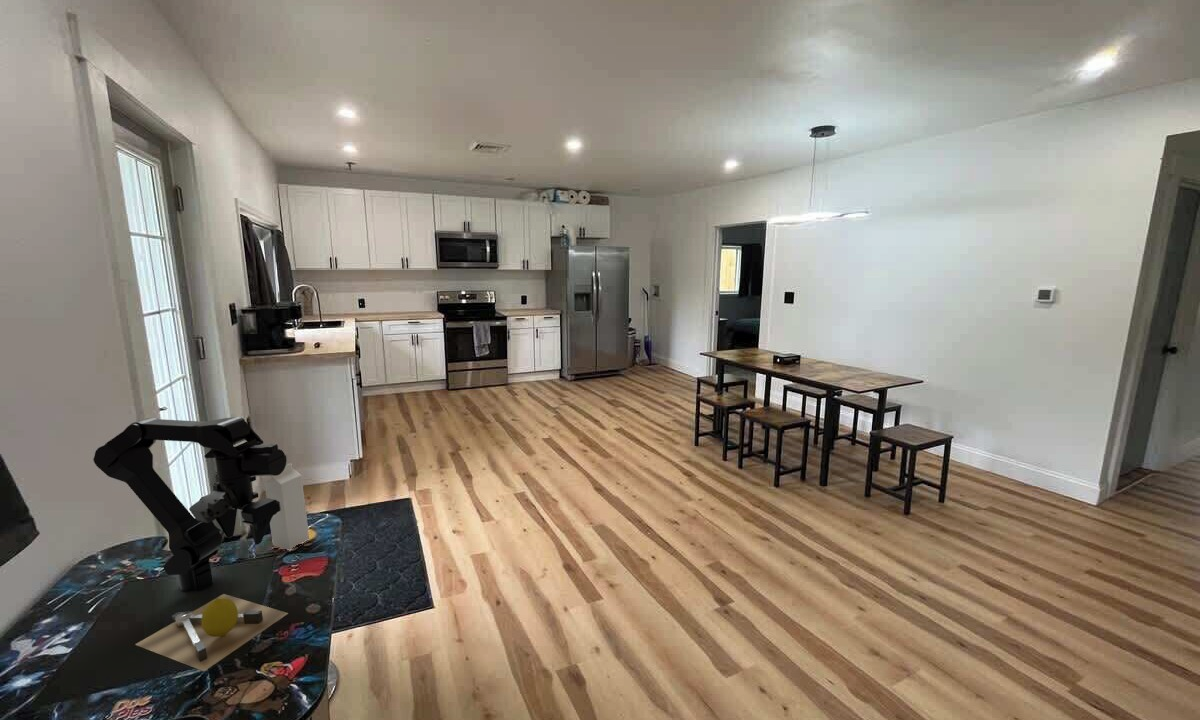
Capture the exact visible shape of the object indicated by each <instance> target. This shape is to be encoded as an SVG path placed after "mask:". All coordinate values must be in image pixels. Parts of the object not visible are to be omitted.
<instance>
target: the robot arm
mask: <svg viewBox="0 0 1200 720" xmlns="http://www.w3.org/2000/svg"><path fill="white" fill-rule="evenodd" d="M156 441H165V442H166V441H168V442H169V441H170V442H188V443H189V442H191V443H196V444H198V445H200V446H201V447H202V448H206V449H210V450H209V451H208V452H207V453H206V454H204V458H205V459H215V460H214V461H215V466H216V473H217V482H214V483H213V485H212V491H211V492H210V493H208V494H206V495H204V496H202V497H200V499H199V500H198V501H196V502H195V503H194V504H192V505H191V506H190V507H189V510H188V508H186V506H185V505H184V504H183V503H182V501H180V499H179V498H178V496H176V494H175V493H174V492H173V491H172V490H171V489H170V487H169V486H168V485H167V483H165V481H164V480H163V479H162V477H161V476H160V475H159V474H158V473H157V471H156V470H155V469H154V455H153V453H152V451H151V447H152V446H154V444H155V443H156ZM244 441H245V442H244ZM239 443H241V444H239ZM235 445H236V446H235ZM278 445H279V444H277V443H274V444H272V443H270V444H264V441H263V439H261V437H260V436H259V435H258V434H257V432H255V430H254V429H253V428H252V427H250V425H249V424H248V422H247V421H246V420H245V419H244V418H243V417H240V416H232V417H224V418H219V419H214V420H207V421H200V420H199V421H198V420H196V421H195V420H183V419H181V420H179V419H163V418H161V419H160V418H155V417H147V418H145V419H141V420H137V421H134V422H132V423H130V424H129V425H128V426H127V427H126V428H125V429H124V430H123V431H121V432H120V433H118V434H117V435H116V436H115V437H113V438H111V439H110V440H108V441H107V442H105V444H104V445H102V446H99V447H98V448H97V449H95V452H94V456H93V463H94V464H95V466H96V467H97V468H98V469H99V470H101V472H103V473H104V474H105V475H106V476H107V477H109V478H112V479H115V480H117V481H120V482H124V483H125V484H127V485H128V487H129V488H130V490H132V491H133V493H134V495H136V497H137V498H138V499H139V501H141V502H142V504H143V505H144V506H145V508H146V509H147V510H148V511H149V512H151V514H152V515H153V517H154V518H155V519H156V520H157V521H158V523H160V525H161V526H162V528H164V530H165V531H166V532H167V533H168V548H169V550H170V552H171V554H172V556H171V557H170V558H169V560H167V561H166V563H164V564H163V569H164V571H165V573H166V575H169V576H171V575H172V576H174V575H176V576H177V577H178V583H179V588H180V591H181V592H184V593H188V592H189V593H190V592H193V591H194V592H195V591H197V592H198V591H199V592H200V591H203V590H205V589H207V588H208V587H210V586H212V585H214V578H213V577H214V576H213V571H212V568H211V567H212V566H211V562H210V559H211V558H213V557H214V556H216V555H218V554H219V551H220V548H221V546H222V542H223V539H224V538H223V536H222V533H221V530H222V531H223V533H224V534H225V536H226V538H228V539H230V538H231V537H234V534H235V530H236V529H235V528H236V523H237V522H236V520H237V513H238V510H239V511H240V510H241V511H240V514H241V518H242V519H243V520H242V521H241V522H242V523H244V524H246V525H248V526H249V528H250V532H251V536H252V538H253V542H254V545H259V544H261V543H262V542H263V539H264V536H265V533H266V532H267V530H268V527H269V526H270V521H271V519H272V517H273V515H275V514H277V512H279V511H280V510H281V507H280V502H279V501H277V500H274V499H269V498H266V497H263V498H261V499H258V500H256V501H254V500H255V499H257V498H259V492H256V491H254V489H253V482H254V481H257V477H258V476H259V477H260V476H261V477H262V476H263V477H264V476H265V477H266V476H268V477H269V476H270V477H271V476H277V475H280V474H281V473H282V472H283V470H284V469H285V466H286V465H287V455H286V454H285V452H284V451H283V449H280V448H279V446H278ZM213 521H216V522H217V523H218V525H219V527H220V528H218V527H217V526H216V525H215V523H214V522H213Z"/></svg>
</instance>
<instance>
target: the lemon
mask: <svg viewBox="0 0 1200 720" xmlns="http://www.w3.org/2000/svg"><path fill="white" fill-rule="evenodd" d="M216 598H217V597H216ZM216 598H214V599H215V600H214V599H213V600H214V601H212V600H211V601H212V602H211V603H210V604H209V605H208V606H207V607H206V608H205V610H204V611H203V614H202V628H203V630H204V632H205V633H206V634H207V635H209V636H212V637H219V636H220V637H223V636H225V635H226V634H227V633H228V632H229V631H231V630H232V629H233V627H234V626H235V624H236V622H237V619H238V611H237V607H236V605H235V603H234V602H233V601H232V600H230V599H227V598H220V599H219V598H217V599H216Z"/></svg>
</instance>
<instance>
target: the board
mask: <svg viewBox="0 0 1200 720" xmlns="http://www.w3.org/2000/svg"><path fill="white" fill-rule="evenodd" d="M217 598H219V599H220V598H227V599H230V600H232V601H233V602H234V603H235V605H236V607H237V611H238V614H244V613H245V612H246V611H251V610H262V616H263V621H262V622H261V623H260V624H235V626H234V627H233V629H232V630H231V631H229V632H228V633H227V634H226V635H225V636H223V637H220V636H219V637H212V636H209V635H207V634H206V633H205V632H204V630H203V628H202V625H192V626H193V628H194V630H195V632H196V634H197V635H198V637H199V639H200V641H201V640H202V642H203V644H204V646H205V648H206V653H207V659H205V660H203V661H201V662H200V661H199V659H198V657H197V655H196V653H195V651H194V648H193V646H192V644H191V642H190V640H189V638H188V636H187V634H186V632H185V630H184V628H183V627H182V628H178V627H177V626H176V620H174V621H173V622H172V623H170V624H169V625H166V626H165V627H163V628H162V629H161V628H160V630H158V631H156V632H155V633H153V634H151V635H149V636H148V637H146V638H144V639H142V640H140V641H139V642H137V643H135V644H134V645H135V646H137V647H140V648H142V649H144V650H147V651H151V652H152V653H156V654H158V655H161V656H163V657H165V658H169V659H170V660H173V661H176V662H178V663H181V664H184V665H186V666H189V667H192V668H194V669H196V670H199V671H202V672H205V671H207V670H208V669H210V668H211V667H213V666H214V665H215V664H217V663H219V662H220V661H222V660H224V658H226V657H227V656H229V655H230V654H231V653H233V652H234V651H236V650H237V649H239V648H241V647H242V646H243V645H245V644H246V643H248V642H249V641H251V640H252V639H254V638H255V637H256V636H257V635H259V634H260V633H262V632H264V631H265V630H267V629H268V628H269V627H272V625H274V624H275V623H277V622H278V621H280V620H281V619H283V618H284V617H285V616H287V615H289V613H288V612H285V611H282V610H279V609H276V608H272V607H269V606H266V605H262V604H259V603H256V602H253V601H249V600H245V599H242V598H238V597H235V596H232V595H229V594H226V593H223V594H221V595H219V596H217V597H216V598H214V599H212V600H211V601H209V602H207V603H205V604H204V605H201V606H200V607H198V608H197V609H195V610H193V611H191V612H192V615H202V614H203V611H204V610H205V608H206V607H207V606H208V605H209V604H210V603H211V602H212V601H214V600H215V599H217Z"/></svg>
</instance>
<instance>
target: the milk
mask: <svg viewBox="0 0 1200 720" xmlns="http://www.w3.org/2000/svg"><path fill="white" fill-rule="evenodd" d="M302 477H303V476H302V474H301V473H299V472H298V471H297V470H296V469H295V468H293V463H291V462H290V463H288V464H287V463H286V466H285V469H284V470H283V472H282V473H281V474H280V475H277V476H270V477H269V478H267V479H266V480H264V489H265V498H269V499H274V500H277V501H279V502H280V507H281V510H280V511H279V512H277V514H275V515H273V517H272V519H271V521H270V523H269V527H270V534H271V540H272V546H273V545H274V546H277V547H280V548H284V549H289V550H290V549H292V548H293V547H295V546H296V545H298V544H300V543H302V542H304V541H305V540H307V539H309V540H310V533H309V525H308V524H309V523H308V517H307V509H306V502H305V493H304V486H303V485H304V484H303V478H302Z"/></svg>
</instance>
